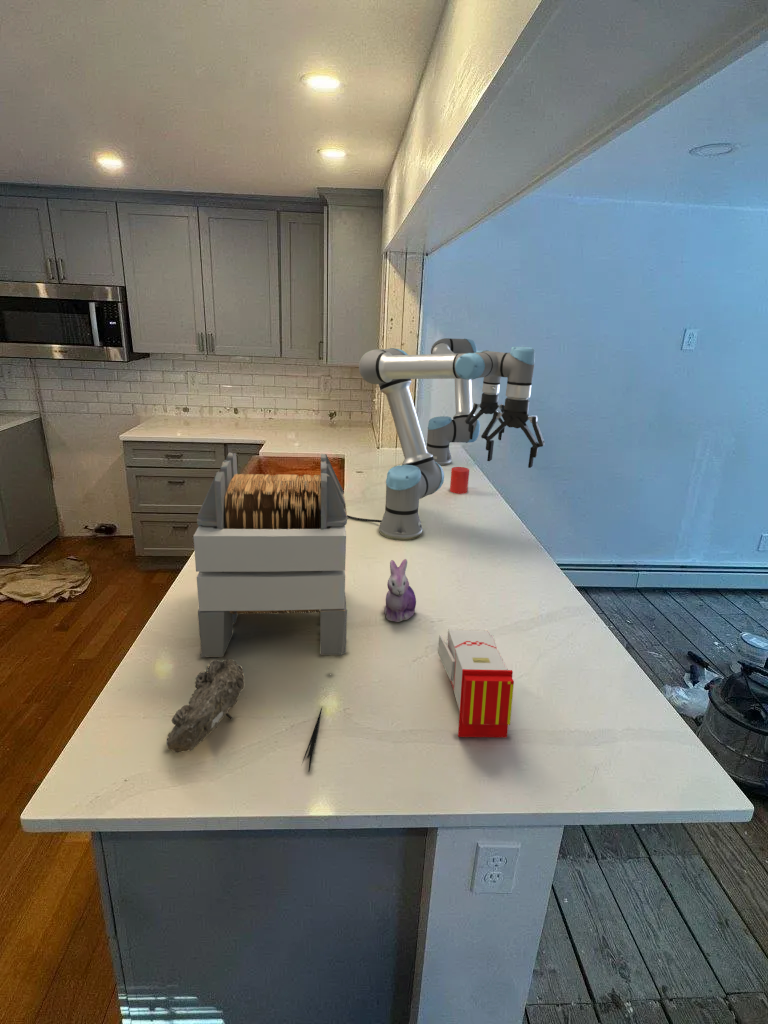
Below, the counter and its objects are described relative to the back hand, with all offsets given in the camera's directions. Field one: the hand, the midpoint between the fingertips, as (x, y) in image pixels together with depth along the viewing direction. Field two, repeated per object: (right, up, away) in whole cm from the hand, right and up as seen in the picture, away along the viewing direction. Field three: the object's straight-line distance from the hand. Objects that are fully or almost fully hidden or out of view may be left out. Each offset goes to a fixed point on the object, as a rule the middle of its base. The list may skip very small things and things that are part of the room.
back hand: (485, 439), depth 264 cm
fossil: (-80, -73, -155) cm, 189 cm away
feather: (-59, -74, -155) cm, 182 cm away
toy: (-29, -72, -145) cm, 164 cm away
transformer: (-74, -61, -121) cm, 154 cm away
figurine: (-43, -60, -116) cm, 138 cm away
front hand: (-6, -18, -78) cm, 80 cm away
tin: (-14, -25, -13) cm, 31 cm away
